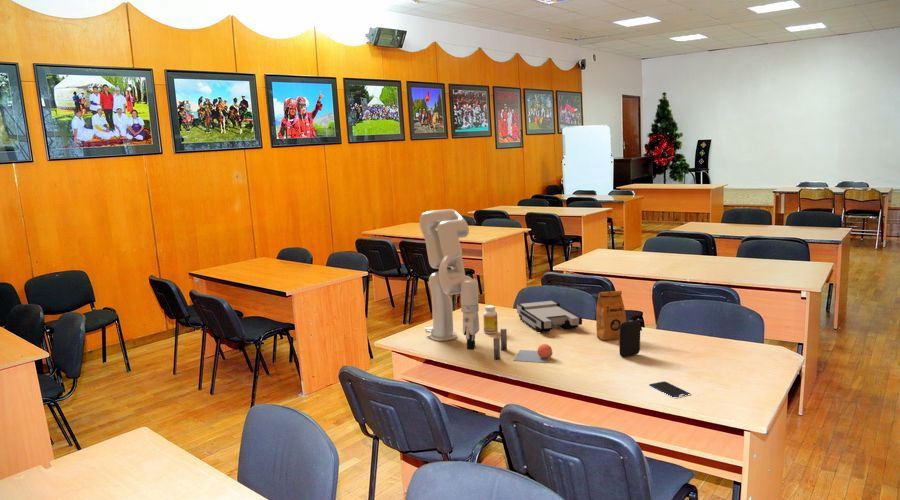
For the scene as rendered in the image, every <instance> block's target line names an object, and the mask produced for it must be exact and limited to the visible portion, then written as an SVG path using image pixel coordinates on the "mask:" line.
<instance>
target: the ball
mask: <svg viewBox="0 0 900 500" xmlns="http://www.w3.org/2000/svg"><path fill="white" fill-rule="evenodd" d="M536 351H537V352H538V355H539V356H540V357H541V358H544V359H546V358H549V357H550V358H551V356H552V354H553V349H552V347H551V346H550V345H549V344H547V343H542V344H540V345H539V346H538V347H537V350H536Z"/></svg>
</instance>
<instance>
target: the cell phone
mask: <svg viewBox="0 0 900 500" xmlns="http://www.w3.org/2000/svg"><path fill="white" fill-rule="evenodd" d="M648 386H650V387H651V388H653V389H655V390H657V391H659V392H661V393H663V392H664V393H663V394H665V393H666V394H665V395H667V394H668V395H667V396H669V395H670V396H669V397H671V396H672V397H671V398H673V397H679V396H685V395H688V394H691V393H690V392H688V391H686V390H684V389H682V388H680V387H678V386H676V385H674V384H673V383H672V384H671V383H670V382H667V381H659V382H653V383H650V384H648ZM685 397H686V396H685Z"/></svg>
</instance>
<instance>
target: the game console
mask: <svg viewBox="0 0 900 500" xmlns="http://www.w3.org/2000/svg"><path fill="white" fill-rule="evenodd" d="M516 313H517V314H518V317H519V318H520V319H519V320H520V321H521V320H522V321H521V322H523V323H524V322H525V323H526V324H525V323H524V324H525V325H527V326H528V325H529V326H528V327H530V328H531V327H532V328H531V329H533V330H534V331H535V330H536V331H535V332H537V333H538V332H541V333H548V332H549V331H550V332H551V331H553V328H554V327H555V328H556V327H558V328H560V329H562V330H563V331H569V330H576V328H578V327H579V326H580V325H583V318H582V317H581V316H579V315H578V314H576V313H574V312H572V311H571V310H569V309H567V308H565V307H563V306H561V303H560V302H558V301H556V300H547V301H546V300H545V301H537V302H536V301H535V302H526V303H517V304H516Z"/></svg>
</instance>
